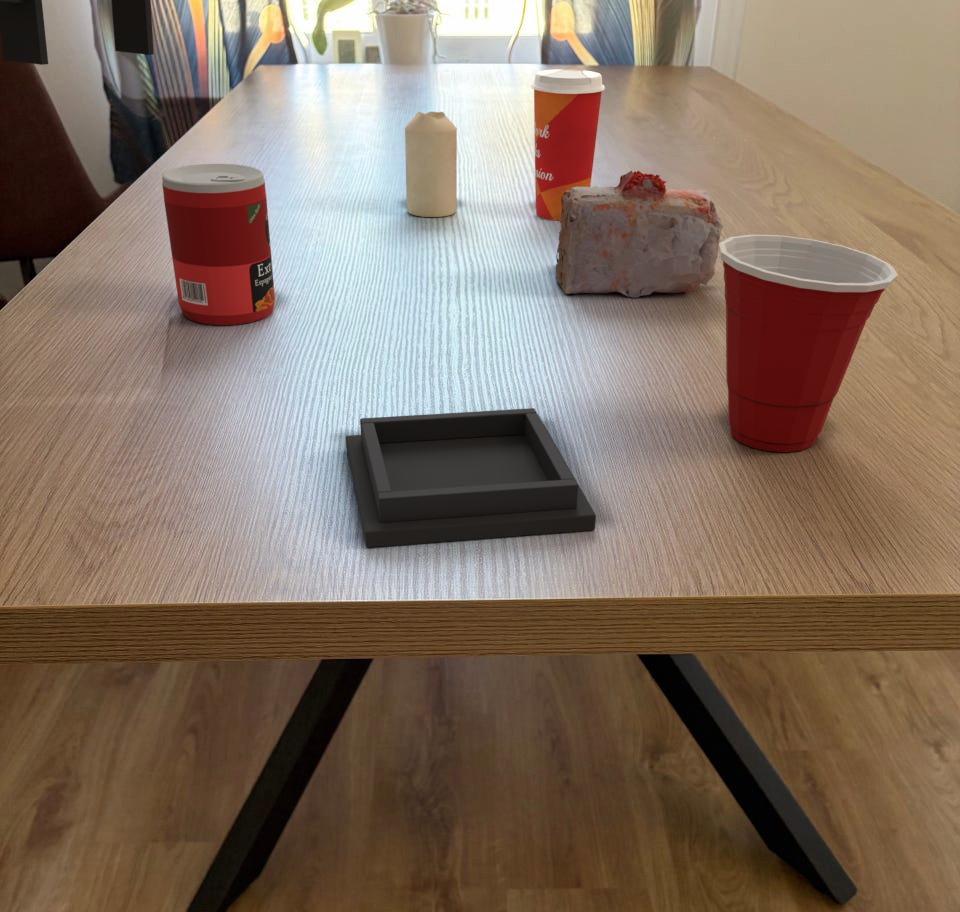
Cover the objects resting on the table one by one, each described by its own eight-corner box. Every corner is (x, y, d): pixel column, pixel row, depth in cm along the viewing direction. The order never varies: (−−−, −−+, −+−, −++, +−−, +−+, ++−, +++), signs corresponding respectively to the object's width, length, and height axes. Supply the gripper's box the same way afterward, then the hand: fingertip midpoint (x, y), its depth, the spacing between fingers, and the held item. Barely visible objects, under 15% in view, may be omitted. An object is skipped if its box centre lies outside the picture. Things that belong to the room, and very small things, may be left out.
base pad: (366, 548, 61) (364, 507, 60) (346, 449, 72) (344, 413, 71) (595, 530, 63) (598, 490, 62) (543, 437, 74) (545, 401, 73)
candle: (437, 220, 121) (437, 119, 115) (396, 212, 123) (394, 113, 117) (466, 210, 124) (466, 112, 119) (425, 203, 127) (424, 106, 121)
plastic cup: (885, 468, 71) (931, 276, 64) (717, 472, 70) (745, 278, 63) (827, 402, 80) (862, 228, 73) (678, 404, 79) (699, 228, 72)
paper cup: (532, 204, 127) (538, 66, 119) (599, 208, 126) (609, 70, 118) (520, 220, 121) (525, 77, 113) (591, 225, 120) (601, 80, 112)
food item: (695, 274, 105) (708, 162, 100) (717, 300, 99) (733, 182, 93) (551, 275, 104) (557, 162, 99) (564, 302, 98) (571, 182, 92)
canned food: (277, 324, 92) (264, 183, 86) (177, 328, 91) (157, 185, 84) (275, 296, 98) (263, 162, 92) (182, 299, 97) (163, 164, 91)
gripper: (-29, -408, 55) (26, 74, 66) (203, -297, 76) (215, 54, 87) (-161, -413, 56) (-86, 60, 67) (103, -303, 77) (127, 44, 88)
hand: (84, 57), depth 77 cm, fingers open, 13 cm apart
